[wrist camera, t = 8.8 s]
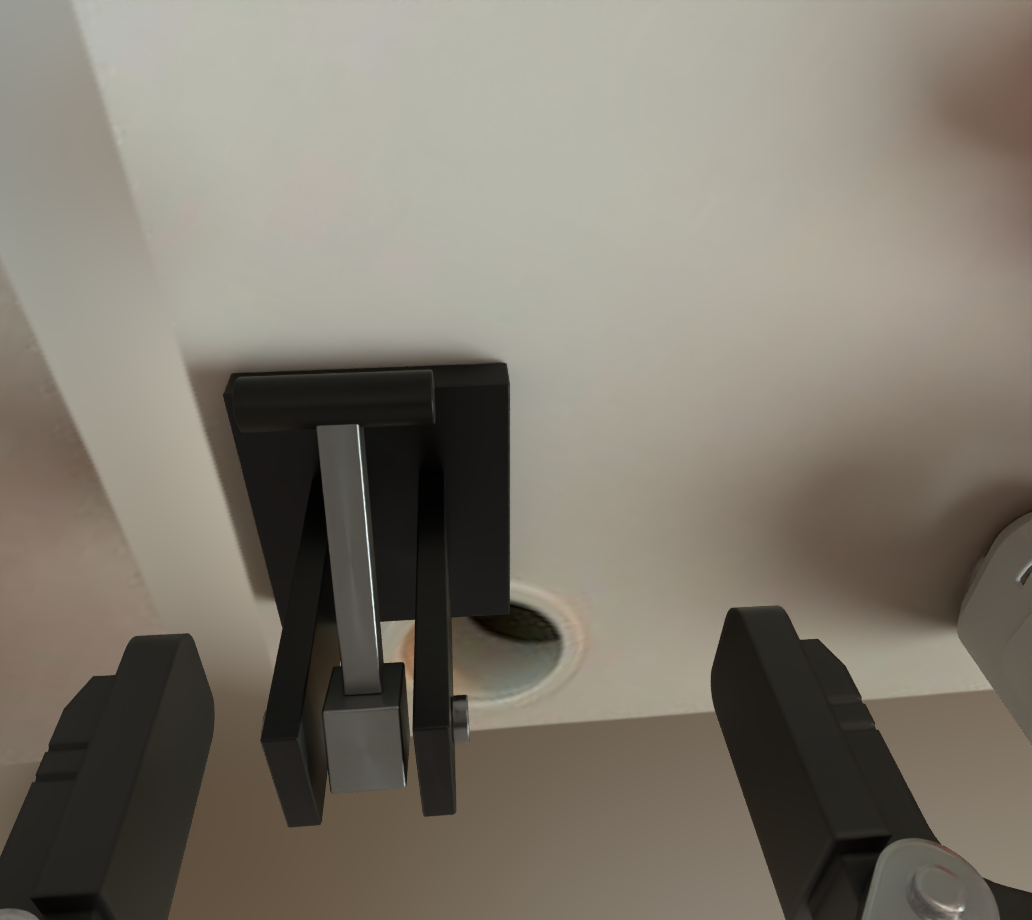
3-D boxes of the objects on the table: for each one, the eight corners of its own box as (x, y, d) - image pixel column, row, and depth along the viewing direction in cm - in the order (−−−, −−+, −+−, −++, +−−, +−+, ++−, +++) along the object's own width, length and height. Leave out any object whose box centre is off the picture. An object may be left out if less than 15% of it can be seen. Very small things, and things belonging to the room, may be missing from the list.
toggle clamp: (230, 372, 29) (118, 652, 18) (506, 362, 29) (546, 626, 19) (286, 602, 36) (228, 896, 25) (507, 590, 36) (536, 870, 26)
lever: (247, 368, 21) (224, 387, 19) (433, 361, 22) (431, 379, 19) (296, 745, 25) (281, 798, 23) (453, 734, 25) (454, 785, 23)
